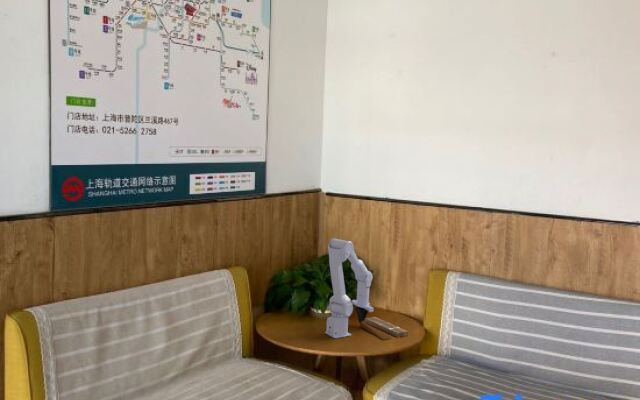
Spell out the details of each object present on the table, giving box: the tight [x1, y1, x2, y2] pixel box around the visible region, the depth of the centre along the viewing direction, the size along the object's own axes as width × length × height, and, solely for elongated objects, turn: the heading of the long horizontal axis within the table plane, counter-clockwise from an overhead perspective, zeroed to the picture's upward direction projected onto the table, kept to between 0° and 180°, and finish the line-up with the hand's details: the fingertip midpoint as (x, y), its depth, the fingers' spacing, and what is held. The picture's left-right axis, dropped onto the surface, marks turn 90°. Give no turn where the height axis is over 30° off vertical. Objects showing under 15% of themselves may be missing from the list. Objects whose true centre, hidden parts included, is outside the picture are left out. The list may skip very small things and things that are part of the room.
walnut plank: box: [364, 316, 409, 338], centre depth 275 cm, size 6×24×2 cm, turn 34°
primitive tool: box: [359, 320, 393, 341], centre depth 267 cm, size 19×6×4 cm, turn 37°
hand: (361, 322), depth 276 cm, fingers closed
